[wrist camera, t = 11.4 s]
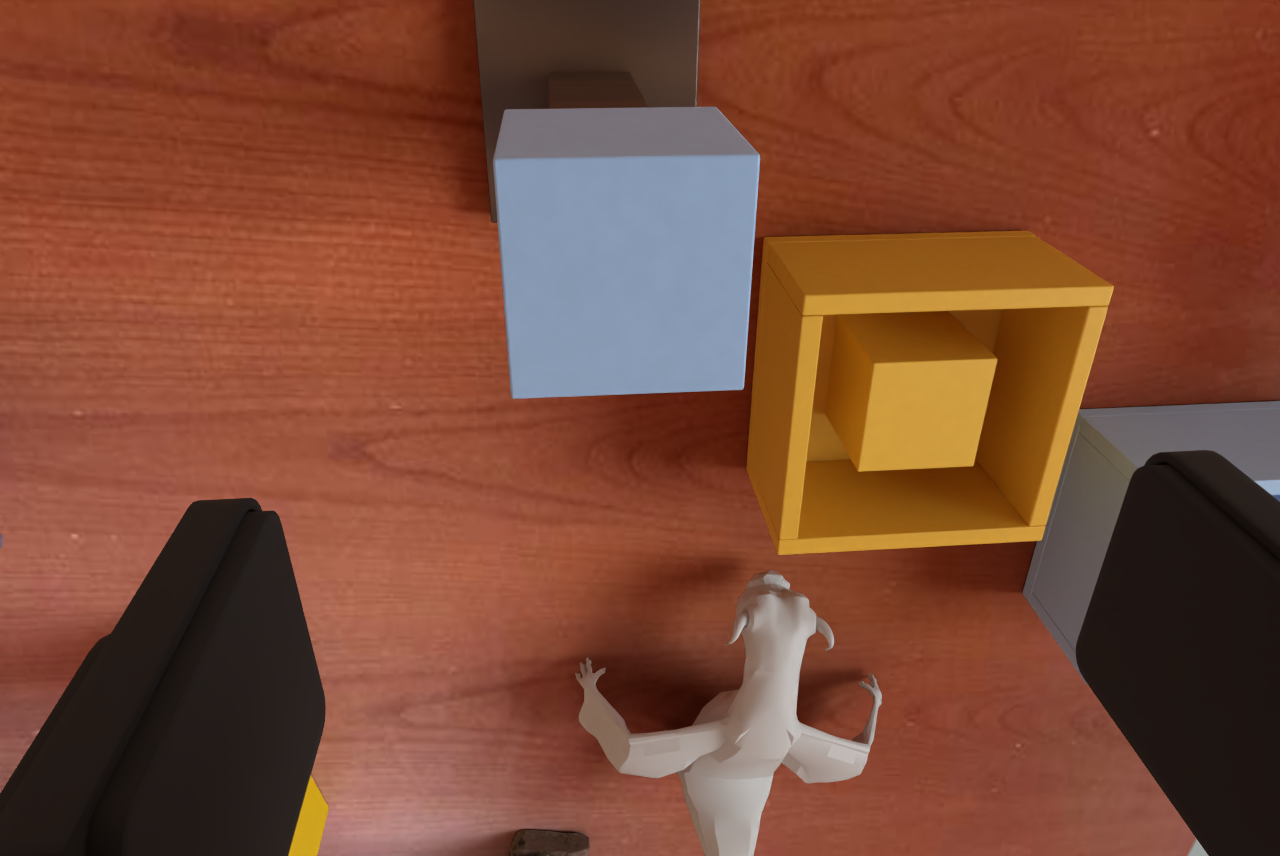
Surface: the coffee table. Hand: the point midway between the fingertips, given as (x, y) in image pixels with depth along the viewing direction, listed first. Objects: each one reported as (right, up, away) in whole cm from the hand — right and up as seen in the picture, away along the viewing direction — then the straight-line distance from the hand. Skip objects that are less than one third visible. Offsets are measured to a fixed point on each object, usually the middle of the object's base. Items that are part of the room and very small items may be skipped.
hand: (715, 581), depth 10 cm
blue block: (-2, +7, +12) cm, 14 cm away
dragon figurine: (+4, -13, +40) cm, 42 cm away
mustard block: (+10, +5, +30) cm, 32 cm away
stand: (-3, +14, +24) cm, 28 cm away
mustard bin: (+10, +5, +31) cm, 33 cm away
